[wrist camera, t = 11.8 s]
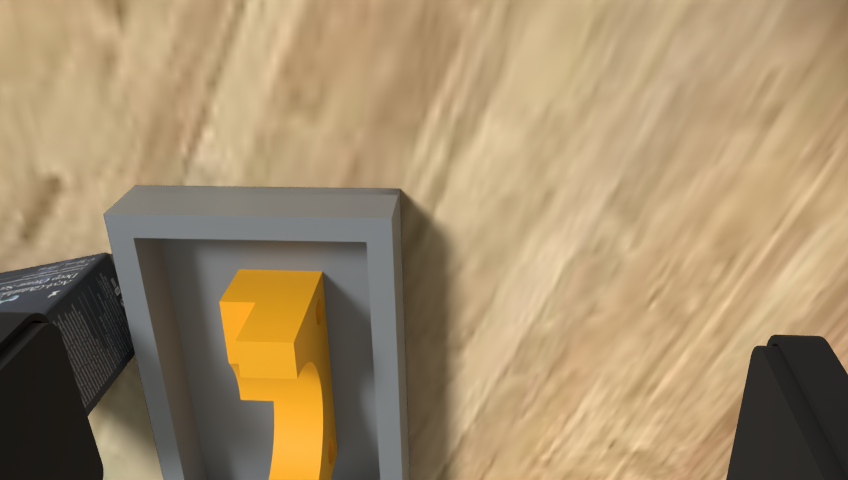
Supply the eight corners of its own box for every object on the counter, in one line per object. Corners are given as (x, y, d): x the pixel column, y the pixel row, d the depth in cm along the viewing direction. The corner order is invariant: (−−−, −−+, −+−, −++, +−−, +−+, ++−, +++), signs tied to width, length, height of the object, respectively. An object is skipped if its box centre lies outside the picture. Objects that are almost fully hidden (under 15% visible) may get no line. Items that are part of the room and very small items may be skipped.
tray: (399, 188, 37) (391, 218, 34) (410, 498, 46) (404, 544, 43) (135, 185, 38) (103, 214, 35) (196, 489, 47) (175, 533, 44)
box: (109, 247, 40) (-9, 366, 30) (151, 336, 42) (53, 471, 33) (-20, 272, 41) (-172, 394, 32) (27, 357, 43) (-101, 493, 34)
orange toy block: (239, 269, 39) (195, 339, 33) (322, 271, 38) (293, 342, 33) (264, 449, 44) (230, 537, 38) (337, 452, 44) (315, 541, 38)
